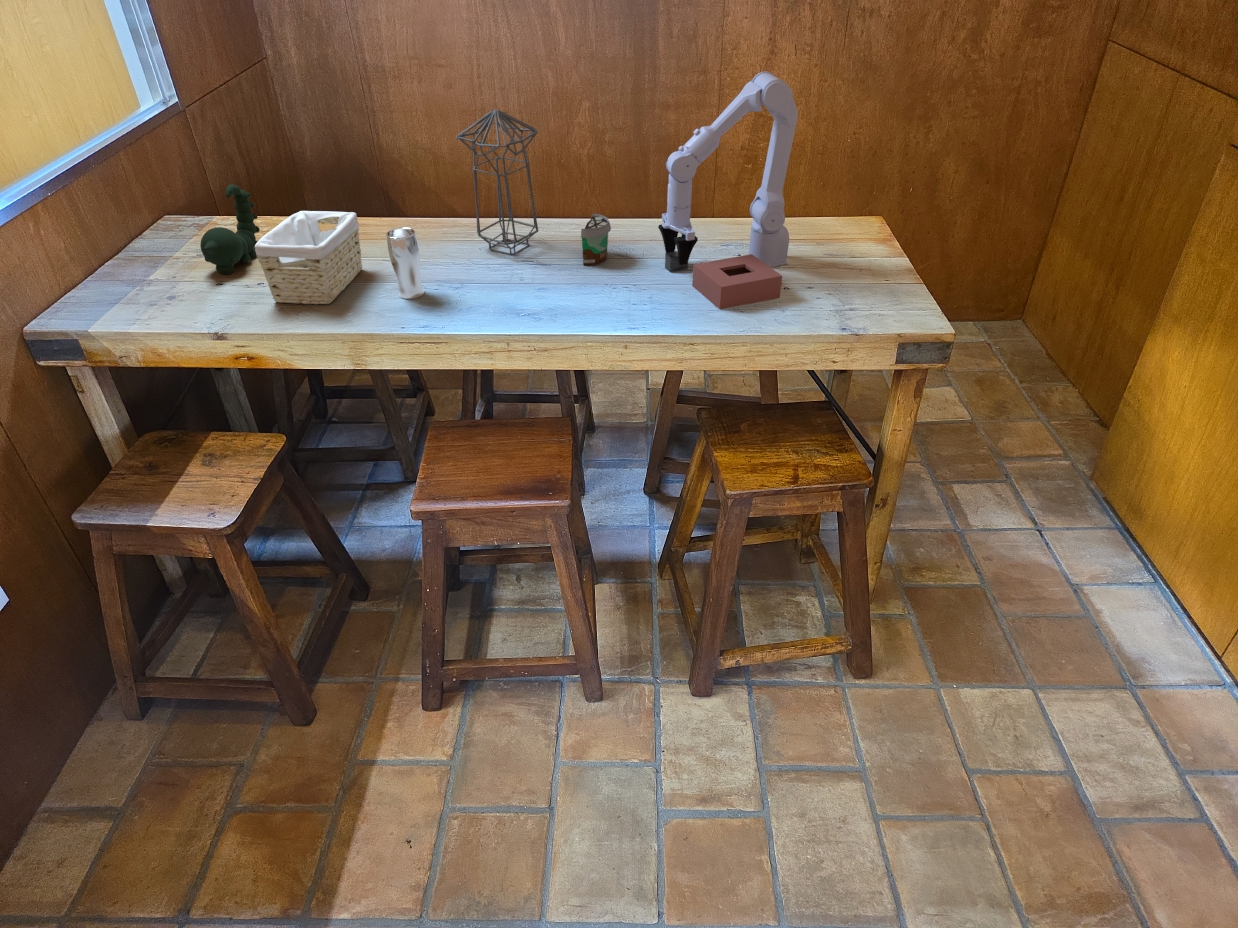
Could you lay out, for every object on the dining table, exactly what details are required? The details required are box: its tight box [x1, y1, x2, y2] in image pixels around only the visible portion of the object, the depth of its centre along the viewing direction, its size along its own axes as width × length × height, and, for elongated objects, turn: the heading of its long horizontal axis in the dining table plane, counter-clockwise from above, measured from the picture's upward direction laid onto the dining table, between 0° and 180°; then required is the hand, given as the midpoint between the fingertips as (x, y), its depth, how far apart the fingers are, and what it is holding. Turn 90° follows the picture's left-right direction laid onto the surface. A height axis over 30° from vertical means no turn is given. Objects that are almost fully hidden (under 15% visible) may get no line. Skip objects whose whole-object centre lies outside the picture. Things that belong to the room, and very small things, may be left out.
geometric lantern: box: [455, 109, 539, 256], centre depth 200 cm, size 16×16×35 cm
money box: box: [691, 254, 783, 310], centre depth 186 cm, size 16×14×6 cm
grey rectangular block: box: [664, 250, 689, 273], centre depth 198 cm, size 5×3×4 cm, turn 112°
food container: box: [580, 213, 612, 267], centre depth 201 cm, size 12×6×10 cm, turn 168°
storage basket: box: [254, 210, 363, 305], centre depth 187 cm, size 24×16×15 cm
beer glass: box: [385, 227, 425, 300], centre depth 183 cm, size 7×7×15 cm
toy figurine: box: [199, 183, 260, 275], centre depth 197 cm, size 9×19×25 cm
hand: (676, 258), depth 197 cm, fingers open, 7 cm apart
